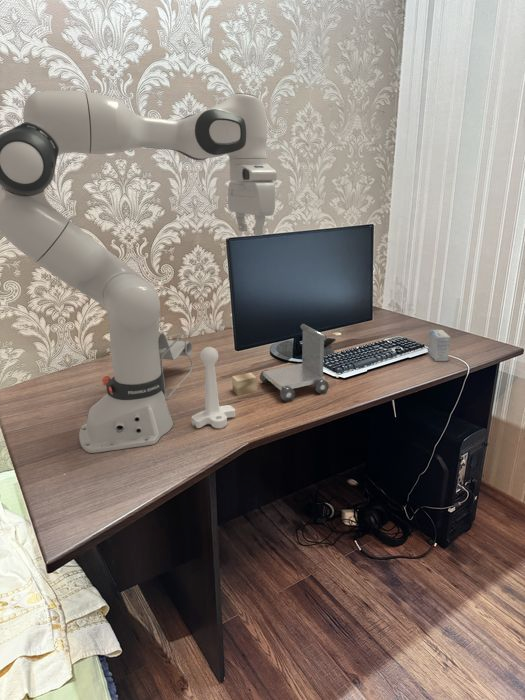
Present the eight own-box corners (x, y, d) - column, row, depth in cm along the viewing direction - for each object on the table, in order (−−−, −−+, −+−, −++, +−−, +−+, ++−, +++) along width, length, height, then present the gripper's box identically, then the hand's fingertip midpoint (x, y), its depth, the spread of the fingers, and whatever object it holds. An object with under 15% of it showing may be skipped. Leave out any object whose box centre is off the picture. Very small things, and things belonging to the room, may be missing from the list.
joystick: (227, 410, 124) (224, 340, 117) (242, 422, 118) (239, 349, 111) (189, 422, 119) (183, 349, 112) (202, 435, 113) (197, 358, 106)
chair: (120, 399, 132) (111, 334, 125) (156, 366, 155) (150, 309, 148) (164, 403, 129) (157, 336, 122) (194, 368, 152) (190, 311, 145)
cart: (282, 403, 128) (282, 344, 122) (259, 383, 140) (258, 329, 134) (328, 392, 134) (330, 336, 127) (302, 374, 146) (303, 322, 140)
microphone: (330, 347, 178) (299, 356, 163) (327, 332, 178) (297, 340, 163) (342, 346, 174) (312, 354, 159) (339, 331, 174) (309, 338, 159)
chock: (237, 395, 133) (237, 381, 131) (232, 390, 136) (232, 376, 135) (256, 391, 135) (256, 377, 134) (251, 386, 139) (250, 372, 137)
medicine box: (448, 361, 154) (451, 336, 151) (434, 361, 154) (437, 337, 151) (440, 353, 162) (443, 329, 159) (427, 353, 162) (429, 329, 159)
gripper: (220, 173, 116) (223, 230, 121) (254, 172, 99) (255, 238, 104) (243, 173, 119) (245, 228, 123) (280, 171, 101) (280, 236, 106)
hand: (250, 233), depth 113 cm, fingers open, 8 cm apart
